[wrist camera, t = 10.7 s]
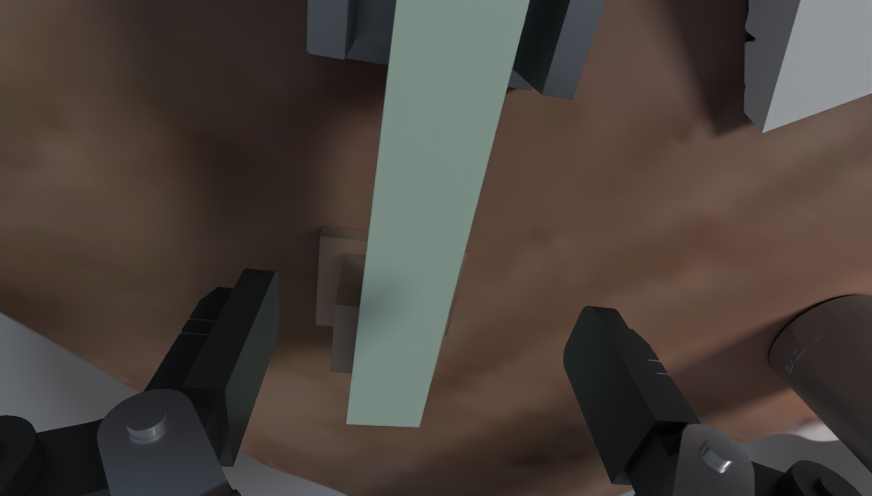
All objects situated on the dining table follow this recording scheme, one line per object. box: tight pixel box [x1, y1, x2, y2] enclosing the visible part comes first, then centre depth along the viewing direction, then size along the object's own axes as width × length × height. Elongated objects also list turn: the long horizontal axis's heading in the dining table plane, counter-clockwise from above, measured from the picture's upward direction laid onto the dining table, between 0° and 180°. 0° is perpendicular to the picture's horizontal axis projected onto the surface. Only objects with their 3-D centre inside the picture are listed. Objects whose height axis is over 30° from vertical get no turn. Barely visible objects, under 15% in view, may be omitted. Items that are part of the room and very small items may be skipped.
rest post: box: [316, 226, 468, 378], centre depth 27 cm, size 9×7×6 cm
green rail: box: [346, 0, 530, 427], centre depth 17 cm, size 4×24×4 cm, turn 170°
